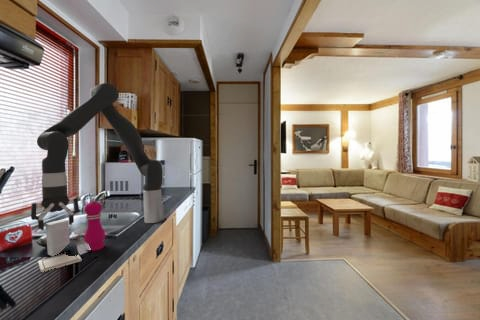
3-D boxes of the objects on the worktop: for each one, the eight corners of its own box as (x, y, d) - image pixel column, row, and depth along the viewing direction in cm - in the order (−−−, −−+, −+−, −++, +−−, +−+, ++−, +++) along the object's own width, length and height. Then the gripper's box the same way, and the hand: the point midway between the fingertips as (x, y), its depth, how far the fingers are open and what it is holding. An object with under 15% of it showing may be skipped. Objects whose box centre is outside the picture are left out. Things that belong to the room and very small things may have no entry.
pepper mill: (80, 249, 94) (77, 199, 93) (98, 243, 100) (96, 195, 99) (91, 253, 90) (88, 200, 89) (109, 246, 97) (107, 197, 96)
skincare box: (65, 248, 95) (63, 218, 95) (70, 250, 93) (68, 220, 92) (46, 254, 90) (45, 223, 89) (52, 256, 88) (50, 224, 87)
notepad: (75, 252, 91) (75, 250, 91) (81, 260, 84) (81, 258, 84) (38, 262, 83) (38, 260, 83) (41, 272, 76) (41, 270, 76)
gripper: (75, 182, 98) (76, 221, 99) (29, 185, 88) (31, 229, 89) (79, 183, 93) (80, 224, 93) (30, 187, 83) (32, 234, 83)
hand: (56, 227), depth 91 cm, fingers open, 8 cm apart
